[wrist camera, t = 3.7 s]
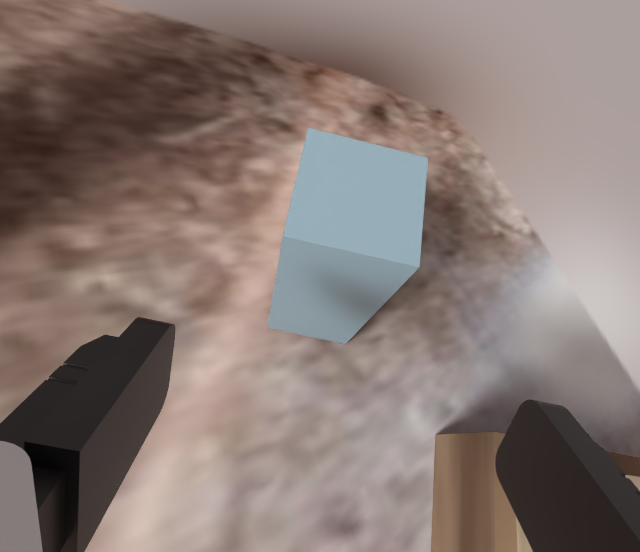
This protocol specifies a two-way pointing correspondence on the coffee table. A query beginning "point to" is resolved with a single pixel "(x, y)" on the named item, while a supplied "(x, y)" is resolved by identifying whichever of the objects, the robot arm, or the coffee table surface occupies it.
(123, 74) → the coffee table surface
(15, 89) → the coffee table surface
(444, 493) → the tower base
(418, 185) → the block
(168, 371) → the robot arm
